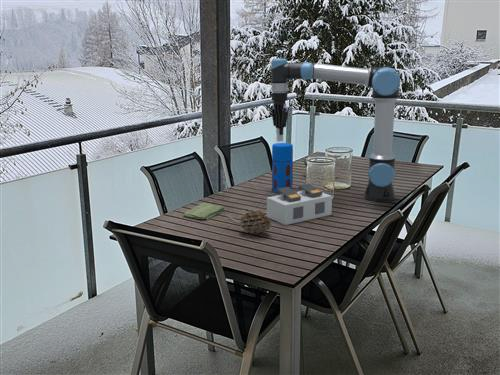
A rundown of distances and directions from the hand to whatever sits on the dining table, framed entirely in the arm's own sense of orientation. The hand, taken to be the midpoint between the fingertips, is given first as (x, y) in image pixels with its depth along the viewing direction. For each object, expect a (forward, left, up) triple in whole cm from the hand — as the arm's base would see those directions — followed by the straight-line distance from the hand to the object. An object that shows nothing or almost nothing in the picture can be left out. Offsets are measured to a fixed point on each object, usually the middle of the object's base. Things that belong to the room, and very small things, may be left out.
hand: (279, 141), depth 247 cm
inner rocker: (-23, +12, -19) cm, 32 cm away
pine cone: (-11, +48, -30) cm, 57 cm away
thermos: (+7, -15, -30) cm, 34 cm away
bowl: (+3, -53, -30) cm, 61 cm away
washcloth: (+19, +37, -31) cm, 52 cm away
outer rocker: (-17, +23, -19) cm, 34 cm away
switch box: (-20, +18, -30) cm, 40 cm away
